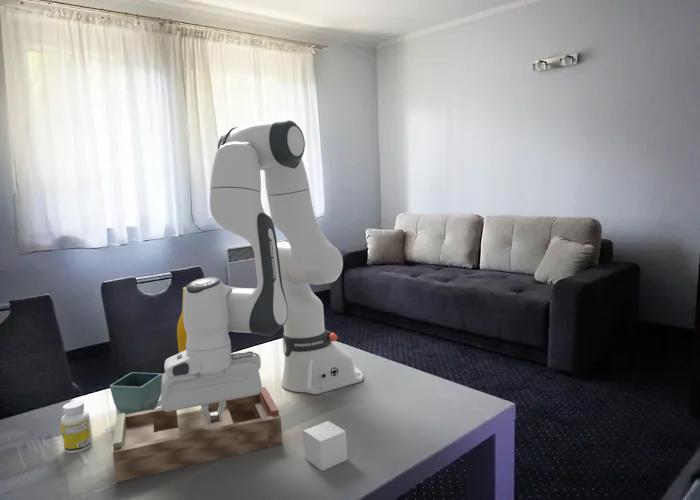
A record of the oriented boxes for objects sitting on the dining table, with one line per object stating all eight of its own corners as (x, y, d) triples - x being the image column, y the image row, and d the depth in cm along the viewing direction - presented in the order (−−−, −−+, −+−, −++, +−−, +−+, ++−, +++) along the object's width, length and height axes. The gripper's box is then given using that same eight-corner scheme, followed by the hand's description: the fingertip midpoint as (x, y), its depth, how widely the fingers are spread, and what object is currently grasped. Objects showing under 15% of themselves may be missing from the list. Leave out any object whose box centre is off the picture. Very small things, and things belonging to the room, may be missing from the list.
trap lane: (265, 412, 123) (263, 384, 122) (282, 444, 107) (280, 412, 106) (121, 441, 112) (117, 411, 111) (116, 482, 96) (112, 447, 95)
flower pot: (145, 423, 120) (141, 386, 119) (112, 421, 122) (108, 385, 121) (165, 407, 129) (162, 373, 128) (134, 405, 130) (131, 372, 129)
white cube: (305, 459, 101) (303, 430, 100) (329, 448, 105) (327, 420, 104) (322, 471, 96) (320, 441, 96) (347, 459, 100) (345, 431, 99)
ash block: (203, 426, 108) (201, 404, 107) (205, 437, 103) (203, 413, 103) (178, 431, 106) (176, 409, 106) (179, 442, 102) (177, 418, 101)
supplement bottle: (71, 442, 112) (66, 400, 111) (96, 440, 113) (91, 398, 112) (59, 455, 107) (54, 410, 106) (86, 452, 107) (81, 408, 106)
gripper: (256, 345, 111) (261, 406, 113) (157, 361, 104) (163, 425, 105) (262, 354, 105) (267, 417, 107) (157, 371, 98) (164, 439, 100)
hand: (214, 421), depth 106 cm, fingers closed
